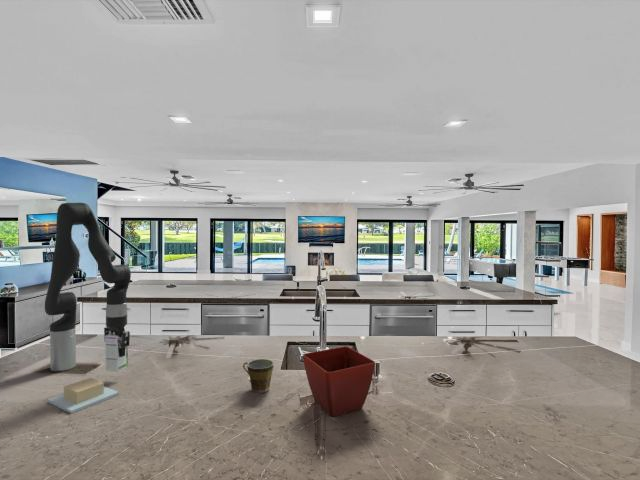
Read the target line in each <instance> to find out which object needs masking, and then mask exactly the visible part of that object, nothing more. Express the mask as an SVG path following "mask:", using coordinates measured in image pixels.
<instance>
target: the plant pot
mask: <svg viewBox="0 0 640 480" xmlns="http://www.w3.org/2000/svg"><path fill="white" fill-rule="evenodd" d="M302 358H303V360H302V361H303V364H304V371H305V374H306V379H307V382H308V386H309V388H310V391H311V396H312V398H313V399H314V402H315V403H316V404H317V406H319V407H320V408H321V409H322V410H323V411H324V412H325V413H327V415H329V416H330V417H337V416H339V415H340V416H341V415H343V414H348V413H351V412H354V411H357V410H361V409H363V407H364V404H365V402H366V399H367V397H368V394H369V391H370V388H371V385H372V381H373V376H374V372H375V366H376V361H374V360H373V359H371V358H369V357H368V356H366V355H363V354H362V353H360V352H359V351H357V350H356V349H353V348H351V347H349V346H339V347H334V348H328V349H323V350H317V351H312V352H307V353H303V354H302Z"/></svg>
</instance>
